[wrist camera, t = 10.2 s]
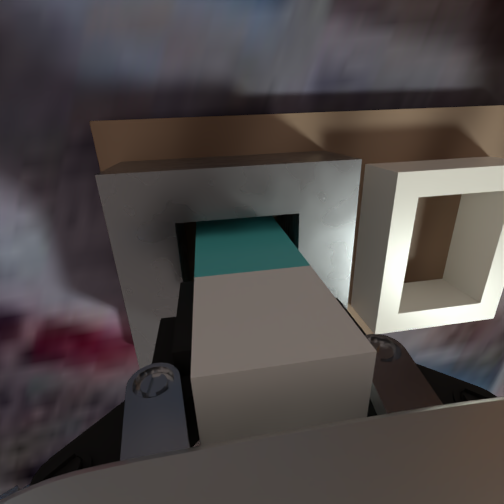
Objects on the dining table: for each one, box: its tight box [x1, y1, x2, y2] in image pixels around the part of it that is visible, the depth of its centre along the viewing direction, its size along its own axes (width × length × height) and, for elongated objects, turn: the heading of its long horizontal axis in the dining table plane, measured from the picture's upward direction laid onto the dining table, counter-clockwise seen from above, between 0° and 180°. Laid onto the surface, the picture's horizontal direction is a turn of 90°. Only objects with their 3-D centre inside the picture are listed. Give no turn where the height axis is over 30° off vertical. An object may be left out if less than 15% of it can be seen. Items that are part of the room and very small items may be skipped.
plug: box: [191, 216, 377, 446], centre depth 11 cm, size 4×5×10 cm
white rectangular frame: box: [351, 156, 504, 334], centre depth 17 cm, size 7×9×3 cm
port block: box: [95, 151, 362, 369], centre depth 15 cm, size 10×10×4 cm
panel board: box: [89, 105, 504, 335], centre depth 19 cm, size 22×14×2 cm, turn 92°
